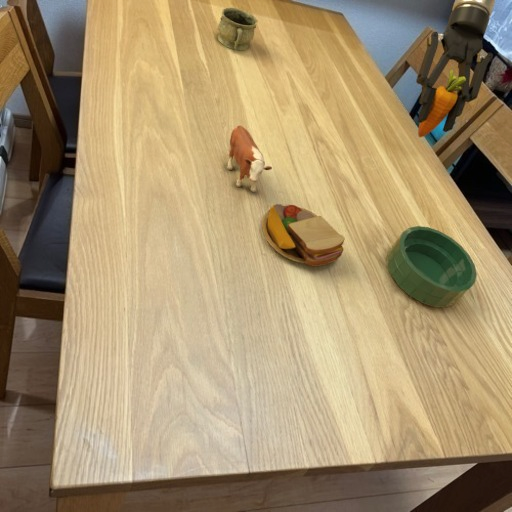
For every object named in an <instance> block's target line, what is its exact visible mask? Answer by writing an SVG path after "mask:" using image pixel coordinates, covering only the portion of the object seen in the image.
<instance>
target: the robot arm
mask: <svg viewBox="0 0 512 512" xmlns="http://www.w3.org/2000/svg"><path fill="white" fill-rule="evenodd" d="M495 3H496V0H454V2H453V6H452V10H451V13H450V15H449V18H448V21H447V23H446V24H447V25H446V27H445V31H444V32H443V33H438V31H433V32H432V33H431V34H430V35H428V36H427V38H426V50H425V53H424V55H423V60H422V62H421V64H420V68H419V72H418V74H417V76H416V80H415V81H416V83H417V84H418V85H420V86H421V90H422V91H421V95H420V98H419V104H420V105H422V106H421V108H420V112H419V116H418V118H417V120H416V121H417V123H419V124H420V123H422V122H424V121H425V120H427V117H428V114H429V111H430V108H431V105H432V101H433V98H434V95H435V92H436V88H437V87H434V86H435V84H436V82H437V81H438V79H439V78H440V76H441V74H442V73H443V71H444V70H445V68H446V67H447V65H448V63H449V61H450V60H451V61H455V62H456V63H457V69H458V75H457V76H458V77H457V79H458V78H459V77H463V76H464V77H465V78H466V81H465V82H463V83H461V84H460V85H458V86H460V87H461V89H459V90H456V93H457V95H458V97H457V100H456V103H455V104H454V106H453V107H452V109H451V110H450V111H449V113H448V114H447V116H446V118H445V121H444V125H443V128H442V132H445V133H447V132H450V131H452V130H453V129H454V125H455V122H456V120H457V118H458V117H460V116H462V114H463V111H464V108H465V105H466V103H470V102H472V101H475V100H476V99H477V98H478V96H479V93H480V91H481V86H482V83H483V80H484V77H485V74H486V70H487V67H488V64H489V63H490V62H491V60H492V59H493V58H494V54H493V53H492V52H486V51H485V50H484V49H483V39H484V37H485V35H486V34H485V33H486V31H487V28H488V25H489V22H490V17H491V15H492V14H493V9H494V8H495ZM440 43H441V45H442V50H443V53H442V54H441V56H440V57H439V59H438V61H437V63H436V65H435V66H434V68H433V70H432V71H431V73H430V70H431V68H432V65H433V62H434V58H435V56H436V52H437V50H438V46H439V45H440ZM476 55H477V57H476V65H475V67H474V71H473V72H472V77H471V67H472V64H473V57H475V56H476ZM429 73H430V74H429ZM458 86H457V87H458Z"/></svg>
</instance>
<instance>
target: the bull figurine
mask: <svg viewBox="0 0 512 512" xmlns="http://www.w3.org/2000/svg"><path fill="white" fill-rule="evenodd" d="M227 154H228V157H229V160H228V162H227V167H226V169H227V170H229V171H233V169H234V166H233V159H234V160H235V162H236V163H237V164H238V166H239V167H240V171H239V172H240V173H239V178H238V179H236V184H235V187H237V188H241V187H242V184H243V180H244V179H245V177H247V179H248V181H250V182H251V184H250V190H249V191H250V192H251V193H256V191H257V189H256V183H257V182H258V180H259V177H260V176H261V174H262V173H263V171H270V170H272V169H273V167H272V166H270V165H265V164H266V161H265V159H264V155H263V153H262V152H261V151H260V148H259V147H258V145H257V143H256V142H255V140H254V138H253V137H252V135H251V133H250V132H249V130H248V129H246V128H245V127H244V126H243V125H241V124H240V125H238V126H237V127H235V128H233V130H232V132H231V134H230V138H229V144H228V147H227Z"/></svg>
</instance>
